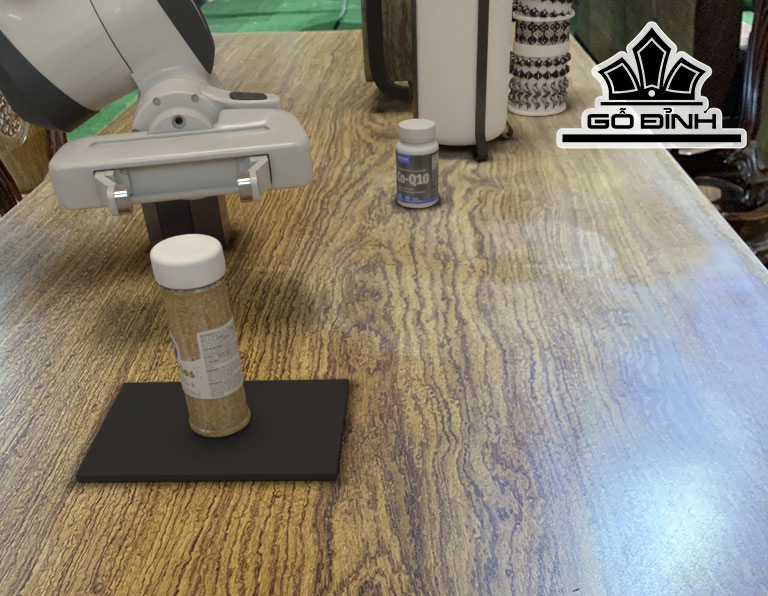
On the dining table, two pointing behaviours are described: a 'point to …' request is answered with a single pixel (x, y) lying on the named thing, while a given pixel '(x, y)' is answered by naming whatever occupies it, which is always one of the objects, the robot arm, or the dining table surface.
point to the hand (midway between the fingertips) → (184, 198)
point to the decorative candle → (540, 57)
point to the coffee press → (453, 68)
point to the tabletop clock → (391, 43)
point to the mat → (222, 454)
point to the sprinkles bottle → (202, 332)
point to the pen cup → (187, 219)
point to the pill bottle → (417, 164)
